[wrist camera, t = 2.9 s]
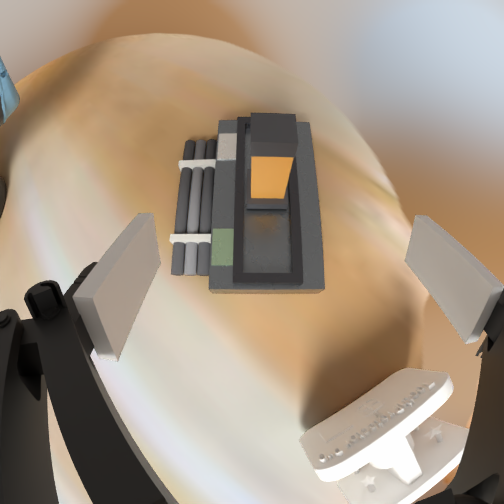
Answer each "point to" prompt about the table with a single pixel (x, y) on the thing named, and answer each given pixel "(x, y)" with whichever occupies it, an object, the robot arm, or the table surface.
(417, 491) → the cable organizer
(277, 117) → the breaker toggle
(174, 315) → the table surface
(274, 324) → the table surface
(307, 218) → the breaker panel
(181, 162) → the cord bundle
